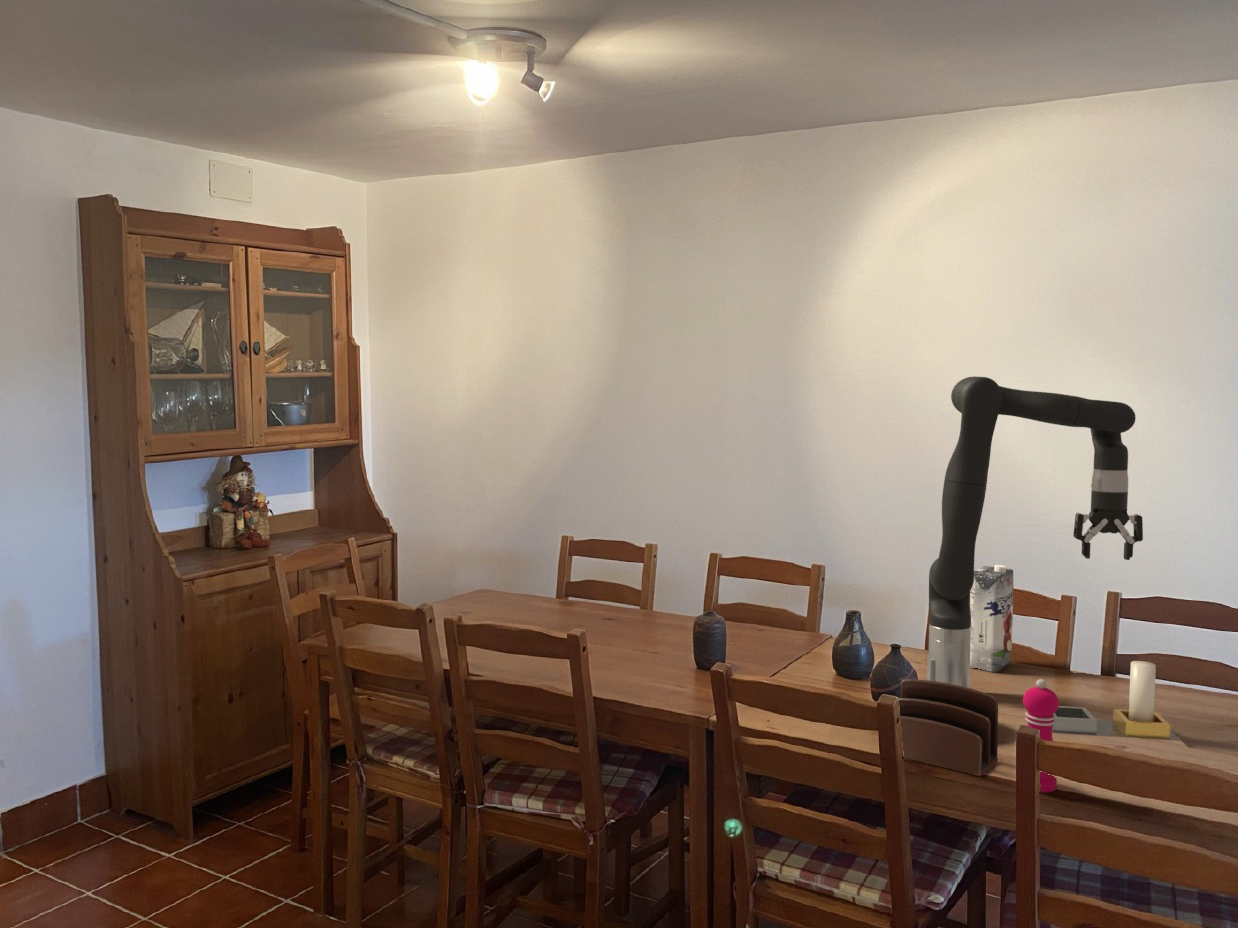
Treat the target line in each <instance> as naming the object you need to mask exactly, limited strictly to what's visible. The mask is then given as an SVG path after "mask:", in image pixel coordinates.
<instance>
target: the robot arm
mask: <svg viewBox="0 0 1238 928" xmlns="http://www.w3.org/2000/svg"><path fill="white" fill-rule="evenodd" d="M950 398H951V403H952V405H953V407H954V408H955V409H956V410H957V411H958V412H959V413H961V418H960V419H961V420H960V430H959V434H958V435H959V436H958V439H957V444H956V445H955V448H954V451H953V452H952V455H951V457H950V459H949V461H948V465H947V467H946V471H945V475H944V481H943V487H942V495H941V497H942V499H941V522H942V523H941V525H942V537H941V544H940V548H939V549H940V550H939V553H938V558H936V559H935V560H934V561H933V563H932V564H931V566H930V569H929V572H928V573H929V574H928V615H929V617H928V620H929V622H928V624H929V625H928V652H927V653H926V680H928V681H936V682H943V683H949V684H954V685H958V686H963V687H967V688H970V671H971V667H970V637H971V613H970V590H971V589H972V586H973V583H974V570H975V555H976V554H975V552H976V541H977V536H978V533H979V528H980V524H981V520H982V519H981V518H982V514H983V509H984V505H985V498H986V492H987V484H988V478H989V477H988V475H989V467H990V459H991V451H992V442H993V437H994V433H995V428H996V425H997V421H998V416H999V415H1001V416H1011V417H1016V418H1021V419H1027V420H1031V421H1035V422H1036V421H1037V422H1041V423H1046V424H1051V425H1055V426H1056V425H1058V426H1065V427H1070V428H1087V429H1090V433H1091V434H1090V435H1091V441H1092V444H1093V445H1092V446H1093V449H1094V451H1093V453H1094V454H1093V472H1092V475H1091V484H1090V488H1091V491H1090V492H1091V493H1090V494H1091V496H1090V497H1091V498H1090V512H1089V514H1085V513H1080V512H1077V513H1075V515H1074V517H1075V518H1074V527H1073V538H1075V539H1076V540H1079V541H1081V555H1082V556H1083V557H1084V558H1085V559H1088V560H1090V559H1091V540H1092V539H1093V538H1095V537H1096V536H1097V535H1098V533H1100V534H1108V533H1109V534H1117V533H1118V534H1119V535H1120V536H1121V537H1122V538H1123V539H1124V541H1125V542H1123V559H1124V560H1125V561H1130V559H1131V558H1133V556H1134V555H1133V554H1134V545H1135V543H1137V542H1142V541H1143V540H1144V536H1143V534H1144V532H1143V531H1144V530H1143V529H1144V528H1143V516H1142V515H1141V514H1139V513H1138V514H1137V513H1135V514H1132V515H1129V514H1128V500H1129V499H1128V498H1129V472H1128V469H1129V468H1128V467H1129V450H1128V447H1127V446H1126V445H1125V444H1124V443H1123V441H1122V433H1126V432H1128V431H1129V430H1130V429H1132V428H1133V426H1134V425H1135V423H1136V419H1137V416H1136V413H1135V411H1134V410H1133V408H1132V407H1131V406H1130V405H1128V404H1127V403H1125V402H1121V401H1120V402H1119V401H1114V400H1113V401H1110V400H1100V399H1090V398H1086V397H1082V396H1076V395H1071V394H1070V395H1069V394H1063V393H1055V392H1044V391H1035V390H1034V391H1033V390H1025V389H1017V388H1016V389H1015V388H1010V387H1006V386H1001V385H999V384H998V383H997V382H996V381H995V380H994V379H992V378H989V377H987V376H968V377H967V376H966V377H965V378H963V379H961V380H959V381H958V382H956V383H955V385H954V386H953V388H952V389H951V393H950ZM1087 520H1089V522H1090V523H1091V525H1090V526H1089V527H1088V529H1087V530H1086V532H1085V533H1084V534H1083V529H1084V524H1085V523H1087ZM1128 522H1130V524H1132V525H1133V535H1131V534H1130V533H1129V531H1128V529H1126V527H1125V526H1126V525H1127V523H1128Z"/></svg>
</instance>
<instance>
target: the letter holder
mask: <svg viewBox="0 0 1238 928" xmlns="http://www.w3.org/2000/svg"><path fill="white" fill-rule="evenodd" d="M896 698H897V699H898V700H899V705H900V719H901V727H902V742H903V751H904V757H905V758H904V759H907V760H910V761H915V762H918V763H922V764H926V765H931V766H934V767H937V768H938V767H939V768H942V769H946V770H951V771H956V772H959V773H963V774H967V775H971V776H973V777H974V776H975V777H979V778H982V776H983V775H984V774H985V773H987V771H989V770H990V769H991V768H992V767H993V766H995V764H996V763H997V762H998V759H999V757H998V747H999V746H998V745H999V744H998V743H999V742H998V739H999V737H998V736H999V734H998V733H999V701H998V699H997V697H995V696H994V695H992V694H989V693H986V692H983V691H980V690H977V689H974V688H970V687H969V688H967V687H963V686H958V685H954V684H949V683H943V682H936V681H928V680H927V679H918V678H915V679H913V678H904V679H902V680H901V681H900V697H896Z"/></svg>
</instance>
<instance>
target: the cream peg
mask: <svg viewBox="0 0 1238 928" xmlns="http://www.w3.org/2000/svg"><path fill="white" fill-rule="evenodd" d="M1156 666H1157V665H1156V664H1155V663H1153V662H1149V661H1142V660H1133V661H1130V668H1129V669H1130V672H1129V673H1130V674H1129V675H1130V676H1129V697H1128V699H1129V700H1128V701H1129V702H1128V710H1129V719H1128V720H1129V721H1138V722H1153V719H1154V711H1155V694H1156V693H1155V692H1156V690H1155V689H1156V672H1157V671H1156Z"/></svg>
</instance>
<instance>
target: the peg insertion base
mask: <svg viewBox="0 0 1238 928" xmlns="http://www.w3.org/2000/svg"><path fill="white" fill-rule="evenodd" d="M1112 710H1113V711H1112V712H1113V713H1112V720H1111V719H1110V720H1108V719H1096V717H1094V716H1093V714H1092V713H1091V712H1090V711H1089V710H1088V709H1087V708H1086V707H1084V706H1083V707H1082V706H1067V705H1065V706H1064V705H1059V707H1058V709H1057V711H1056V712H1055V713H1054V715H1055V724H1053V725H1052V734H1054V733H1055V734H1066V735H1067V734H1068V735H1069V734H1070V735H1083V736H1084V735H1085V736H1098V737H1099V736H1100V737H1101V736H1102V737H1117V738H1118V737H1119V738H1133V739H1134V738H1135V739H1148V740H1149V739H1150V740H1151V739H1152V740H1166V741H1168V740H1169V741H1181V739H1180V738H1179V737H1178V736H1177V735H1176V734H1175V733H1174V731H1172V730H1171V724H1170V723H1169V722H1168V721H1167V720H1166V719H1165V718H1163V716H1162V715H1160V714H1159V713H1158V712H1157V711H1156V710H1154V719H1153V722H1138V721H1129V720H1128V719H1129V709H1122V708H1121V709H1119V708H1113V709H1112Z"/></svg>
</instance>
